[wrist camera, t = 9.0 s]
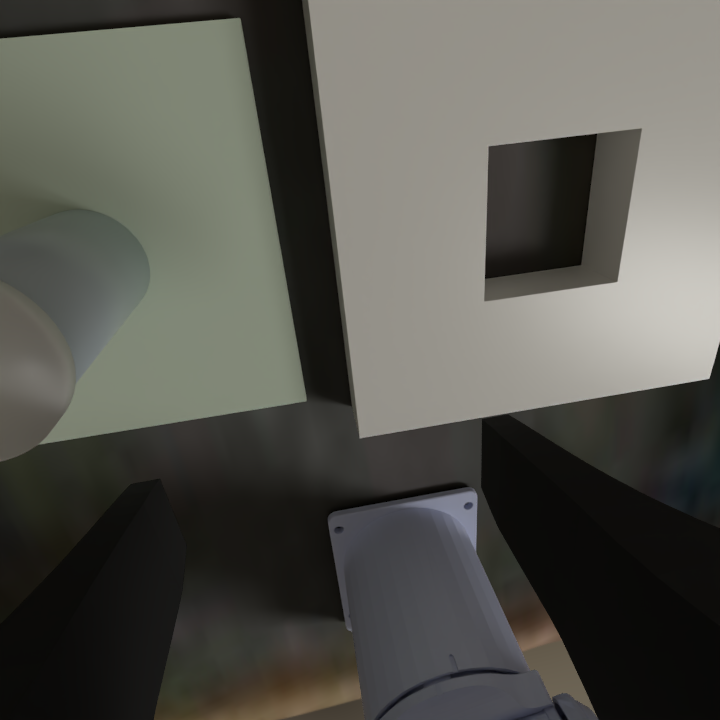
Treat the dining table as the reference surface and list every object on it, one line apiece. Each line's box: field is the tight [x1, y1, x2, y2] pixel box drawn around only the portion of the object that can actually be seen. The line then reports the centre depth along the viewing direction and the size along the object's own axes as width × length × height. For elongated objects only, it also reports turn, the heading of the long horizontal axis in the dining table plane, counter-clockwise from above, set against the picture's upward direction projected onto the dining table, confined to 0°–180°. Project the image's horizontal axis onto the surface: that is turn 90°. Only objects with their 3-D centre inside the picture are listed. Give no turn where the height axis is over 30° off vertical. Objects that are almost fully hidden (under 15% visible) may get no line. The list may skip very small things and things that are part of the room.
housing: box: [302, 0, 720, 438], centre depth 18 cm, size 16×16×2 cm
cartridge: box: [0, 209, 150, 461], centre depth 13 cm, size 4×4×8 cm
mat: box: [0, 18, 307, 445], centre depth 17 cm, size 14×14×1 cm
